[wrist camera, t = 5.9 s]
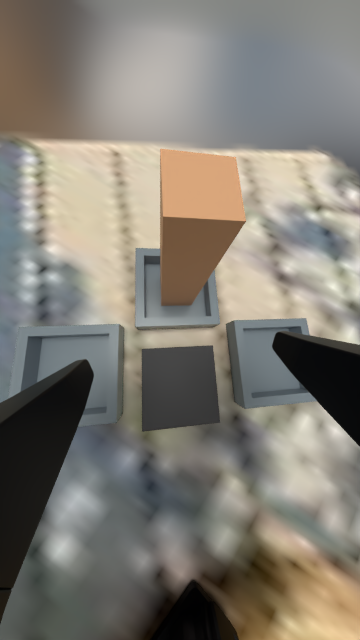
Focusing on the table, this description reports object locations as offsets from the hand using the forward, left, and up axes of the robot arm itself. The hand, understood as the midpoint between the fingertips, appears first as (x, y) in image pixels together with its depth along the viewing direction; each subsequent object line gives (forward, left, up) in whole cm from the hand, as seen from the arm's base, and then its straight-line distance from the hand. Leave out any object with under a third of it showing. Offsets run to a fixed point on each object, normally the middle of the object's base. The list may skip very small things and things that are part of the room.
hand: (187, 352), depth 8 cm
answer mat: (-2, -4, -13) cm, 14 cm away
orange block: (+6, +6, -12) cm, 15 cm away
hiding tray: (+6, +6, -13) cm, 15 cm away
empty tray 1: (-9, +6, -13) cm, 17 cm away
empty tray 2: (+9, -9, -13) cm, 18 cm away
